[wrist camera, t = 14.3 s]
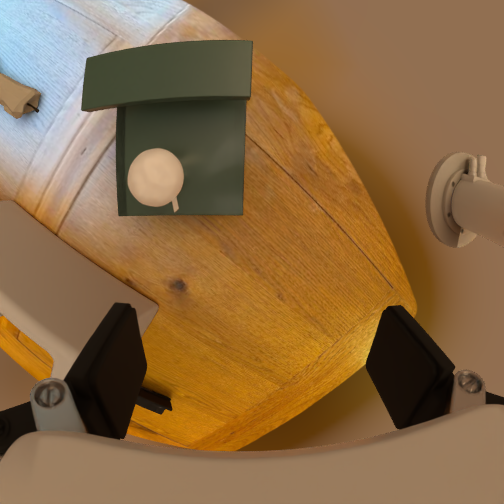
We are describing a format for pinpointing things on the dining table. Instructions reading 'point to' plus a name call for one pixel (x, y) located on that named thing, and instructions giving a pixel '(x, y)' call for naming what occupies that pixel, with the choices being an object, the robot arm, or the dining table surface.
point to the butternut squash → (17, 97)
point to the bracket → (56, 289)
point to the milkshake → (158, 177)
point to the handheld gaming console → (153, 401)
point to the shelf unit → (178, 117)
